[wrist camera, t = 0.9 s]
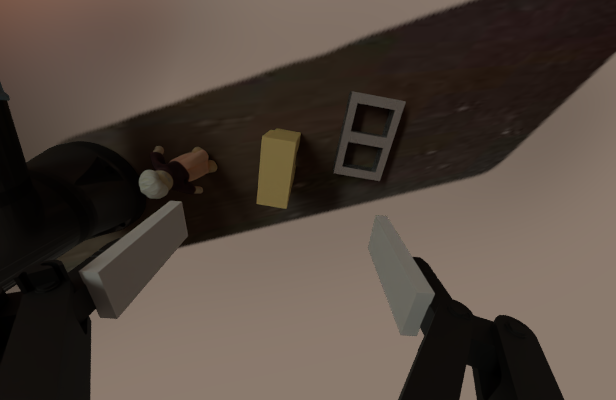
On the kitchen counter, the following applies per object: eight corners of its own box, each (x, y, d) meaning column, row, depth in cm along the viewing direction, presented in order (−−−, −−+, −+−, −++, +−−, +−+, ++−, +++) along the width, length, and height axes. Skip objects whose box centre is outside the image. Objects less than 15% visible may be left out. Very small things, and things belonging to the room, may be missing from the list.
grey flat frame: (332, 168, 35) (333, 173, 33) (349, 91, 31) (352, 91, 29) (376, 176, 36) (379, 181, 34) (400, 101, 31) (405, 101, 29)
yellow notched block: (271, 176, 36) (256, 203, 27) (277, 124, 33) (262, 136, 24) (293, 180, 36) (286, 208, 27) (301, 129, 33) (296, 142, 24)
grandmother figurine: (228, 166, 36) (186, 200, 24) (214, 182, 37) (169, 222, 25) (185, 131, 34) (117, 150, 22) (173, 150, 35) (102, 177, 23)
